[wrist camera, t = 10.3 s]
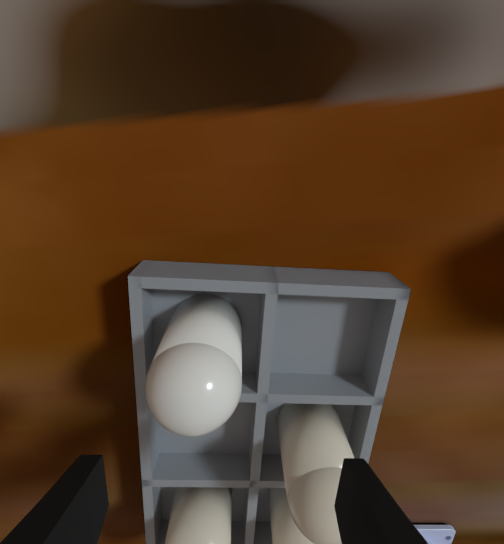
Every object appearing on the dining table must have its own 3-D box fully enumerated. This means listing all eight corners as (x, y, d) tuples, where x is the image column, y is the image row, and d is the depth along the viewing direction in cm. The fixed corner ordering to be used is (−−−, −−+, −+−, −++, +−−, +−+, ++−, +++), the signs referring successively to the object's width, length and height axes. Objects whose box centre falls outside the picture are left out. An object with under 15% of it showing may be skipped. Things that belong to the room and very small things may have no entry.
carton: (335, 518, 25) (345, 556, 23) (156, 517, 24) (146, 556, 22) (388, 272, 18) (410, 288, 16) (142, 260, 17) (127, 276, 15)
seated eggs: (319, 512, 24) (350, 647, 17) (175, 511, 23) (150, 651, 17) (341, 395, 20) (391, 510, 14) (172, 391, 20) (139, 509, 13)
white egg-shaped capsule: (239, 356, 19) (239, 461, 12) (171, 354, 19) (134, 460, 12) (243, 295, 18) (245, 375, 11) (170, 291, 17) (128, 372, 11)
